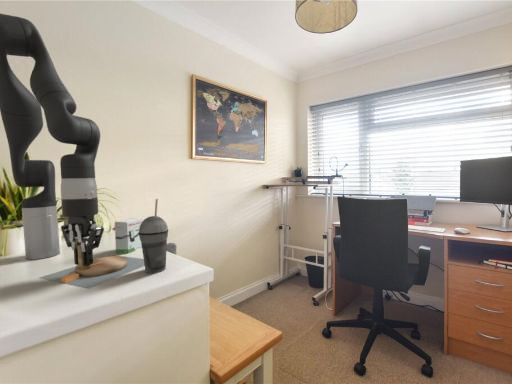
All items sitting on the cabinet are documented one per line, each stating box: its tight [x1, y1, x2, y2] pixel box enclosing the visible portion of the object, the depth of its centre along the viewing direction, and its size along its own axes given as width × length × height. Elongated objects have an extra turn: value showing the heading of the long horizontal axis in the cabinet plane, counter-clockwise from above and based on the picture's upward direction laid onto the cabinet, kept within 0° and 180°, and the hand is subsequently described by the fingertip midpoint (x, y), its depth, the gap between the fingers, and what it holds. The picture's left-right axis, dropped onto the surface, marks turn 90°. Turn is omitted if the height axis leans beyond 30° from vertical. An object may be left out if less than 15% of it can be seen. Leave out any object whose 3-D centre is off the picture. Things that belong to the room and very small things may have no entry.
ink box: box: [114, 218, 144, 255], centre depth 88 cm, size 9×5×12 cm, turn 168°
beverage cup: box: [138, 198, 169, 274], centre depth 66 cm, size 7×7×20 cm
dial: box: [74, 243, 127, 277], centre depth 69 cm, size 12×12×8 cm
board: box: [39, 254, 145, 289], centre depth 69 cm, size 19×20×2 cm
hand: (84, 264), depth 65 cm, fingers closed on dial, 2 cm apart
